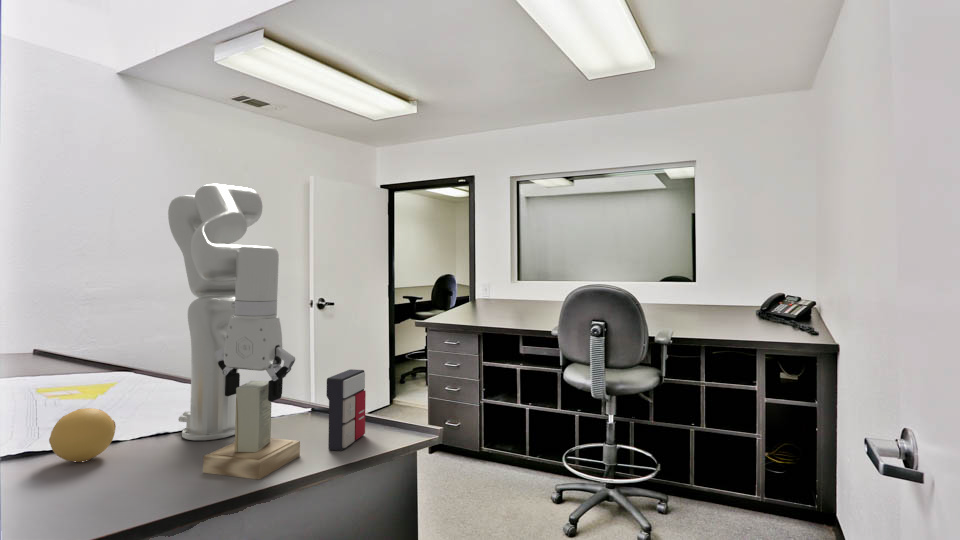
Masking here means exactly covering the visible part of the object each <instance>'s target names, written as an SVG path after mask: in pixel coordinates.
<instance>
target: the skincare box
mask: <svg viewBox="0 0 960 540" xmlns="http://www.w3.org/2000/svg"><path fill="white" fill-rule="evenodd" d="M269 381H270V380H269ZM269 381H265V380H261V381H260V380H258V381H257V380H250V381H248V382H246V383H244V384H242V385H239V387H237V388H236V417H235V435H234V442H235V452H258V451H259V450H260V449H262V448H263V447H264V446H265V445H267V444H268V443H269V442H270V440H271V436H272V435H271V434H272V433H271V432H272V402H271V401H269V400H268V386H269Z"/></svg>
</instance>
